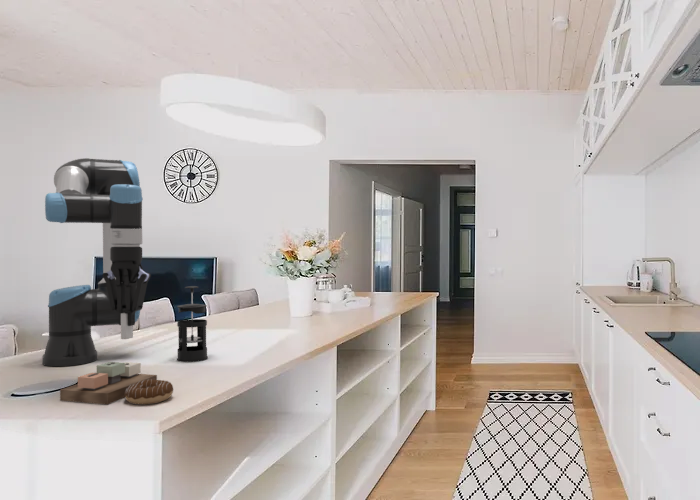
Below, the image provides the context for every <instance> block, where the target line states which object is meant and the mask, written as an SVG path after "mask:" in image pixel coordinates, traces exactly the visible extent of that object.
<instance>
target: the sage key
mask: <svg viewBox="0 0 700 500" xmlns="http://www.w3.org/2000/svg"><path fill="white" fill-rule="evenodd" d="M96 373H105V374H108V377H113V376H116V375H119V374H122V373H125V362H115V361H107V362H105V363H101V364H97V365H96Z"/></svg>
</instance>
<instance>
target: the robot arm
mask: <svg viewBox="0 0 700 500" xmlns="http://www.w3.org/2000/svg"><path fill="white" fill-rule="evenodd" d="M140 183H141V182H140V177H139V172H138V168H137V165H136V164H135V162H132V161H127V160H121V159H119V160H118V159H116V160H115V159H103V158H102V159H99V158H98V159H97V158H87V157H86V158H77V159H72V160H71V161H68V162H66V163H63V164H62V165H60V166H59V167H58V168H57V169H56V171H55V172H54V175H53V184H54V187H55V188H56V190H55V192H49V193H47V194H46V195H45V197H44V198H45V199H44V203H45V204H44V207H45V208H44V211H45V212H44V214H45V219H46V221H47V222H50V223H60V224H65V223H66V224H67V223H69V224H70V223H73V224H75V223H76V224H78V223H81V224H83V223H84V224H85V223H86V224H87V223H89V224H91V223H92V224H102V259H103V260H102V262H103V263H102V271H103V273H102V275H101V276H102V279H101V280H100V281H98V283H97V285H98V286H97V288H92V287H91V286H92V285H90V284H81V285H75V286H74V285H73V286H67V287H62V288H57V289H53V290H52V291H51V292H50V293H49V294H48V305H47V308H48V339H47V342H46V346H45V349H44V354H42V357H41V358H42V365H44V366H47V367H68V366H69V367H70V366H77V365H78V366H79V365H85V364H88V363H93V362H95V361H97V360H98V350H97V349H96V346H95V343H94V340H93V337H92V327H99V326H100V327H101V326H116V325H117V326H120V340H129V339H132V338H134V326H135V324H136V322H137V321H138V320H139V319H140V315H141V310H142V309H143V305H144V302H145V297H146V292H147V286H148V282H149V281H150V279H151V278H152V274H151V273H150V272H149V273H148V272H146V271H144V270H143V268H144V267H143V265H142V261H143V247H142V246H141V245H142V244H143V221H142V220H143V192H142V191H143V190H142V187H140Z"/></svg>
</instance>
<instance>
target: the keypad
mask: <svg viewBox="0 0 700 500" xmlns="http://www.w3.org/2000/svg"><path fill="white" fill-rule="evenodd" d="M143 380H158V375H157V374H149V373H147V374H145V373H137V374H135V375H132V376H120V374H119V375H116V376H113V377H108V384H106V385H103V386H101V387H98V388H95V389H91V388H78V383H77V384H73V385H70V386H67V387H64V388H61V389H60V390H59V396H60V397H59V398H60V399H59V400H60V402H61V401H62V402H63V401H64V402H74V403H85V404H86V403H87V404H95V405H96V404H98V405H106V406H107V405H110V404H112V403H116V402H118V401H120V400H122V399H126V397H125V395H124V394H125V391H126V389H127V388H128V387H129V386H130V385H132V384H134V383H137V382H139V381H143Z"/></svg>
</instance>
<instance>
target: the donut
mask: <svg viewBox="0 0 700 500" xmlns="http://www.w3.org/2000/svg"><path fill="white" fill-rule="evenodd" d="M173 393H174V386H173V384H172V383H171V382H170V381H168V380H164V379H163V380H161V379H157V380H143V381H139V382H137V383H134V384H132V385H130V386H129V387H128V388H127V389H126V391H125V394H124V395H125V399H126V400H127V402H128V403H130V404H133V405H144V406H145V405H152V404H157V403H162V402H164V401H167V400H168V399H169V398H171V396H172V395H173Z"/></svg>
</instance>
